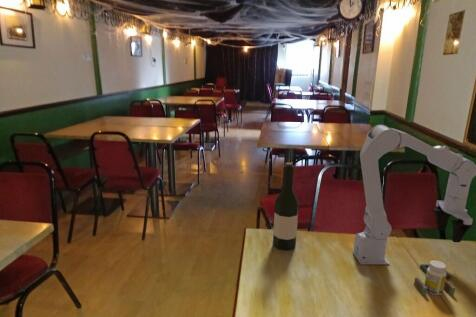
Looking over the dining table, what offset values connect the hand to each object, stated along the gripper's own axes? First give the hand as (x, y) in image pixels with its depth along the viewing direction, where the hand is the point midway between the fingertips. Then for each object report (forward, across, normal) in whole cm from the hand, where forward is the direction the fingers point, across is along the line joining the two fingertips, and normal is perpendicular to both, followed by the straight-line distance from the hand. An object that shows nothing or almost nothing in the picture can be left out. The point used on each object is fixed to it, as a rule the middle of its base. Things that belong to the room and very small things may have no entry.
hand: (448, 235), depth 109 cm
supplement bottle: (+10, -14, +12) cm, 21 cm away
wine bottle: (+10, +12, +50) cm, 52 cm away
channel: (+10, -14, +12) cm, 21 cm away
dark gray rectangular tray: (+10, -6, +6) cm, 13 cm away
